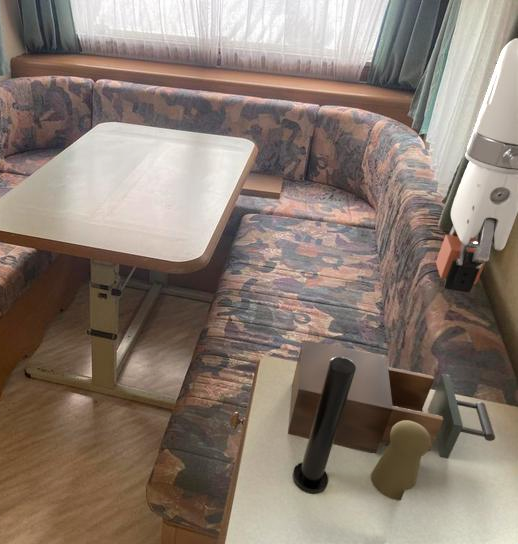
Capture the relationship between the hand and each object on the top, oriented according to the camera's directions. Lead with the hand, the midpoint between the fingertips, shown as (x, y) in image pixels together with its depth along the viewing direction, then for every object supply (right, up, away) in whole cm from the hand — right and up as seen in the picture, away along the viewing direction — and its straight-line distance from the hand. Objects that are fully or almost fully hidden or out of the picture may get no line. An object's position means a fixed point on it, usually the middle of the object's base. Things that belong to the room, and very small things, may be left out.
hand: (453, 278), depth 78 cm
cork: (-6, -30, +6) cm, 31 cm away
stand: (-18, -30, +6) cm, 35 cm away
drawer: (+2, -25, +14) cm, 29 cm away
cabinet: (-11, -23, +17) cm, 31 cm away
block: (0, +1, -1) cm, 1 cm away
